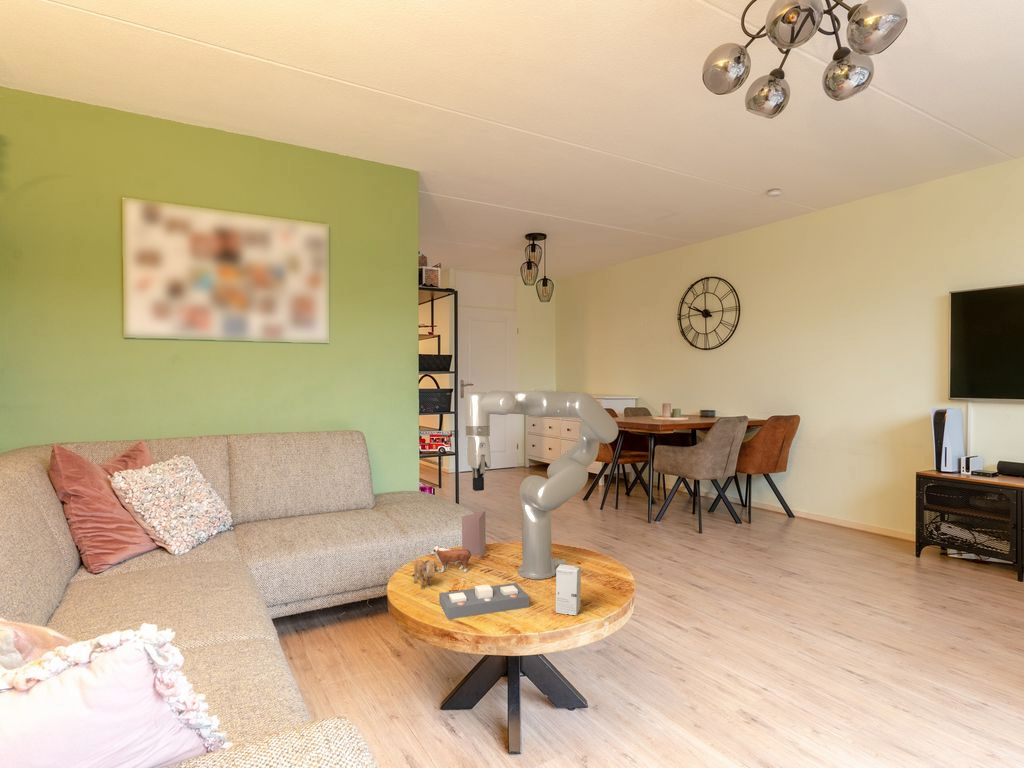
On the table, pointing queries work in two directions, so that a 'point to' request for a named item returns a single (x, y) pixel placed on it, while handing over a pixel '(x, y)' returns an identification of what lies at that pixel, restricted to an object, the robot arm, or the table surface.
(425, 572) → the lion figurine
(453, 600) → the outer button
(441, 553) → the bull figurine
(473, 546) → the greeting card
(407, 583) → the table surface
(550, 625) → the table surface
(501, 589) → the inner button
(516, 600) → the button board
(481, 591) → the middle button
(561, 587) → the skincare box
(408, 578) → the table surface
